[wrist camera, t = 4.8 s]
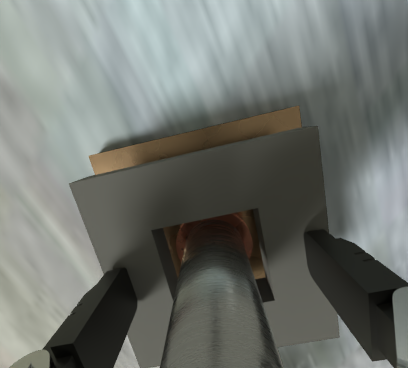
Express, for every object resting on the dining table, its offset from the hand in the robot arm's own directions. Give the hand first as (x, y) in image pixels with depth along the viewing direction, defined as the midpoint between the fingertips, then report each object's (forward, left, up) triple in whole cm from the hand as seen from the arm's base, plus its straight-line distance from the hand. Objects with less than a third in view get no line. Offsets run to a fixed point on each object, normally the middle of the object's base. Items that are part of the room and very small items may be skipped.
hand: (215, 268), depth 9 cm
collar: (0, 0, -2) cm, 2 cm away
